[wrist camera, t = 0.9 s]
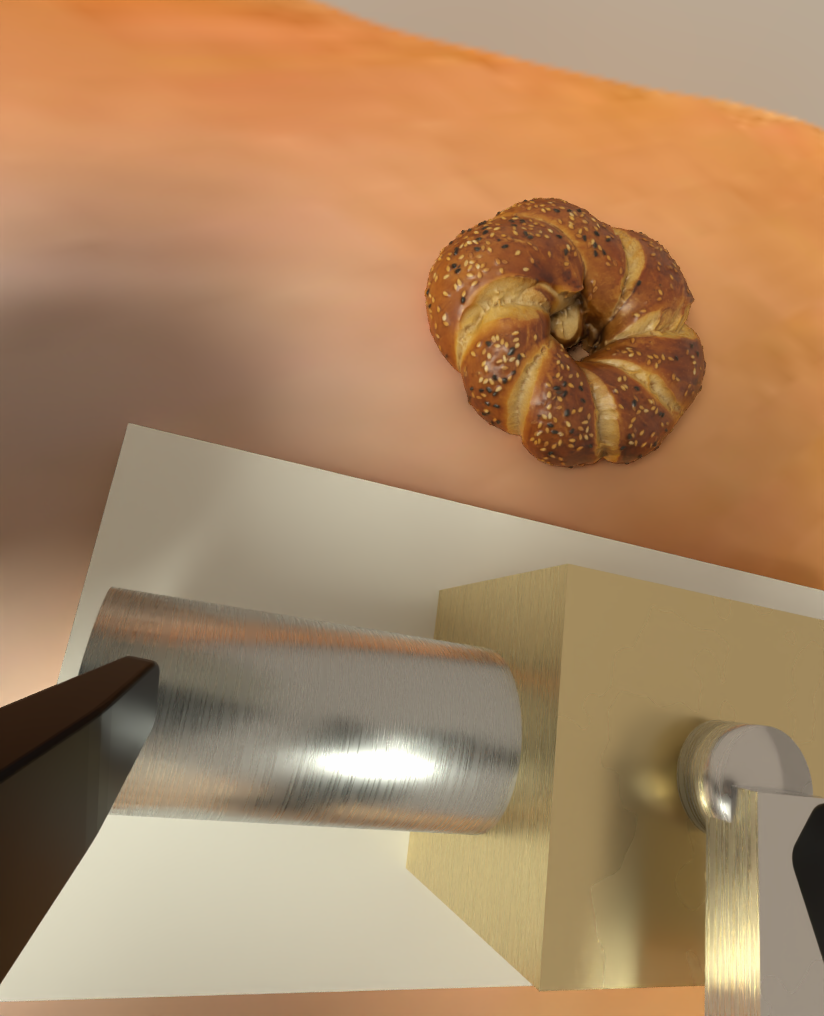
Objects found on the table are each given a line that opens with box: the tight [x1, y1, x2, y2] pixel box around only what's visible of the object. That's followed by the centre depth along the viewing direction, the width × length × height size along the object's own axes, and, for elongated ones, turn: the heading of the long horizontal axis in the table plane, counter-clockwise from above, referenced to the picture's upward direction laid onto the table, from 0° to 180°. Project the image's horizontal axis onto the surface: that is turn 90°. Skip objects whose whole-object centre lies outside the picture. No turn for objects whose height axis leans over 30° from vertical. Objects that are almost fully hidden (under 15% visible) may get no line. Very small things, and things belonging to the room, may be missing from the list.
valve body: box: [78, 564, 824, 991], centre depth 17 cm, size 8×26×7 cm, turn 82°
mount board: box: [0, 423, 824, 1002], centre depth 21 cm, size 14×28×2 cm, turn 82°
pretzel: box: [425, 198, 706, 468], centre depth 24 cm, size 12×11×4 cm
